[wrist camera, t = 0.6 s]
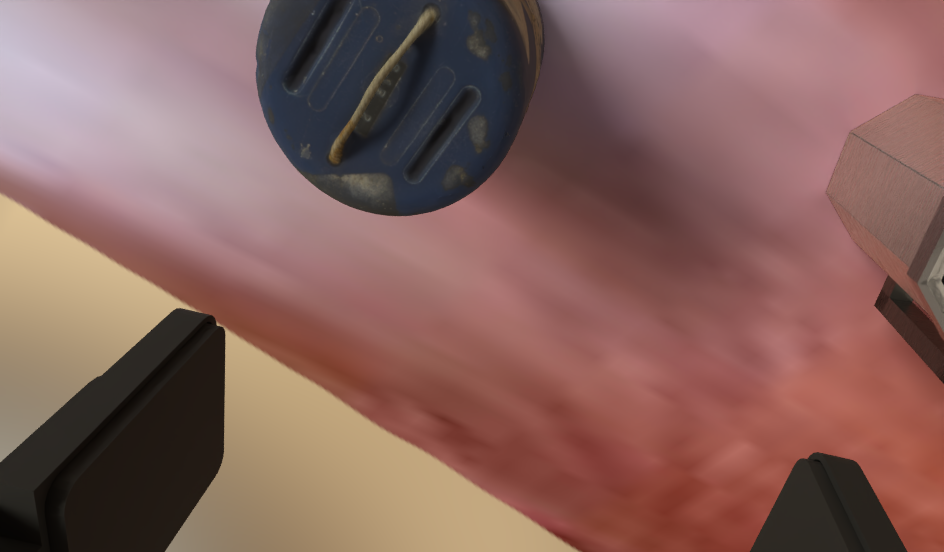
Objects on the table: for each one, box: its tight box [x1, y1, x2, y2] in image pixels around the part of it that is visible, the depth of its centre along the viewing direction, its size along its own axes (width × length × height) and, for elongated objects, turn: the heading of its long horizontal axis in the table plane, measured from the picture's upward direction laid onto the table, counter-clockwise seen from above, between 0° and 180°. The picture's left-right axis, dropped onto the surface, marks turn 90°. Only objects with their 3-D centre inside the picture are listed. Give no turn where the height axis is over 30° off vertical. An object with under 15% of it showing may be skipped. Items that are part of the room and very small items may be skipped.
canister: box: [256, 0, 544, 216], centre depth 29 cm, size 10×10×18 cm
